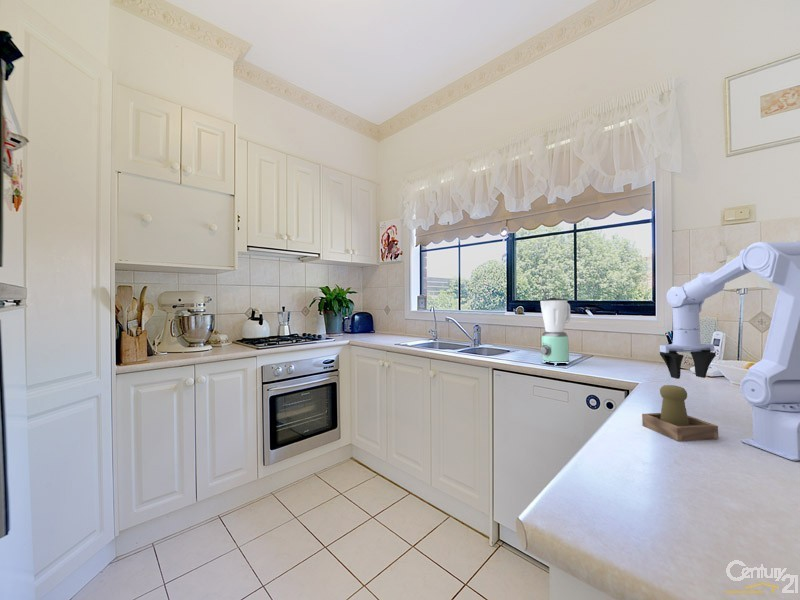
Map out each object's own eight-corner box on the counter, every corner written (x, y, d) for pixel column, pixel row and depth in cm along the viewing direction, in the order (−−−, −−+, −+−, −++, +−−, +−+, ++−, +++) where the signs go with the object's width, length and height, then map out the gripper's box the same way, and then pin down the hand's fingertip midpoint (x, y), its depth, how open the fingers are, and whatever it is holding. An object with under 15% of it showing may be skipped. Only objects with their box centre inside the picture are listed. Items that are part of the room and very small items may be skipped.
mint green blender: (553, 367, 165) (551, 297, 166) (533, 363, 177) (531, 298, 178) (580, 364, 172) (578, 297, 173) (559, 360, 184) (557, 298, 185)
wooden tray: (718, 439, 76) (717, 426, 76) (677, 441, 75) (677, 427, 75) (678, 423, 86) (678, 412, 86) (642, 425, 85) (642, 413, 85)
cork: (695, 436, 77) (693, 389, 77) (663, 433, 80) (661, 387, 80) (685, 427, 83) (683, 384, 83) (655, 424, 85) (654, 382, 85)
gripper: (696, 327, 97) (698, 373, 97) (650, 328, 96) (651, 375, 96) (721, 329, 90) (723, 378, 90) (671, 330, 89) (673, 380, 89)
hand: (688, 377), depth 92 cm, fingers open, 7 cm apart
